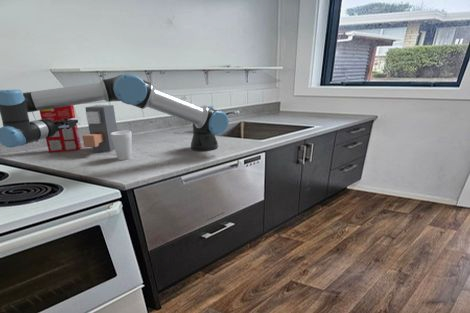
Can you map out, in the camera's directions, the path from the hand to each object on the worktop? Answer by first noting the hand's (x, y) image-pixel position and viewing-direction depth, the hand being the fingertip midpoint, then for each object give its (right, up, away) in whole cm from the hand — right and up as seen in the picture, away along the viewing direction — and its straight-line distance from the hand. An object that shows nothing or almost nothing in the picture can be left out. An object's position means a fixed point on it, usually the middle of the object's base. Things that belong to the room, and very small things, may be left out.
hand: (79, 120), depth 128 cm
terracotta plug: (+1, -11, +14) cm, 18 cm away
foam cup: (+19, -18, +6) cm, 27 cm away
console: (+2, -13, +23) cm, 27 cm away
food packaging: (-21, -14, +23) cm, 34 cm away
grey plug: (+2, +2, +17) cm, 17 cm away
